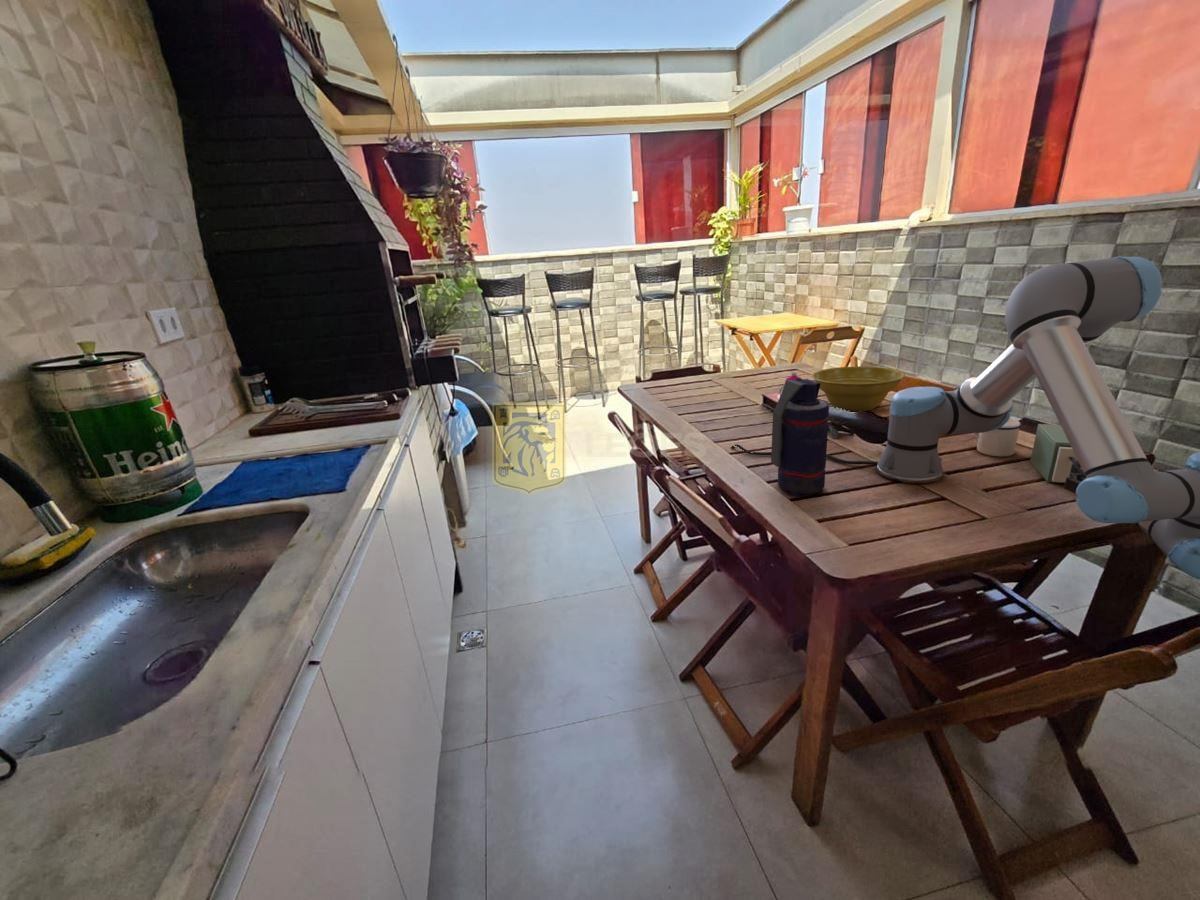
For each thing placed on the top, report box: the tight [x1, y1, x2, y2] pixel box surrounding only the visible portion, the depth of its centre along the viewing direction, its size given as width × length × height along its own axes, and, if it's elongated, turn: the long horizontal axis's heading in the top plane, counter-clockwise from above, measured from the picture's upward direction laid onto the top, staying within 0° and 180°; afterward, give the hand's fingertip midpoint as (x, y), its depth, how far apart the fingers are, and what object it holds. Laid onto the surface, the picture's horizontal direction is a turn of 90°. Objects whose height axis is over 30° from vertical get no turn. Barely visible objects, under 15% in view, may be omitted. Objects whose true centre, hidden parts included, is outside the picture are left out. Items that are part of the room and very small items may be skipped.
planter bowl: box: [811, 365, 906, 412], centre depth 192 cm, size 32×32×13 cm
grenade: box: [770, 378, 830, 497], centre depth 128 cm, size 14×12×30 cm
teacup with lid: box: [972, 417, 1022, 457], centre depth 141 cm, size 12×9×12 cm
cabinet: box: [1029, 423, 1071, 484], centre depth 124 cm, size 15×13×11 cm
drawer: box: [1052, 446, 1084, 483], centre depth 120 cm, size 18×11×9 cm, turn 154°
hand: (1114, 472), depth 105 cm, fingers open, 13 cm apart
